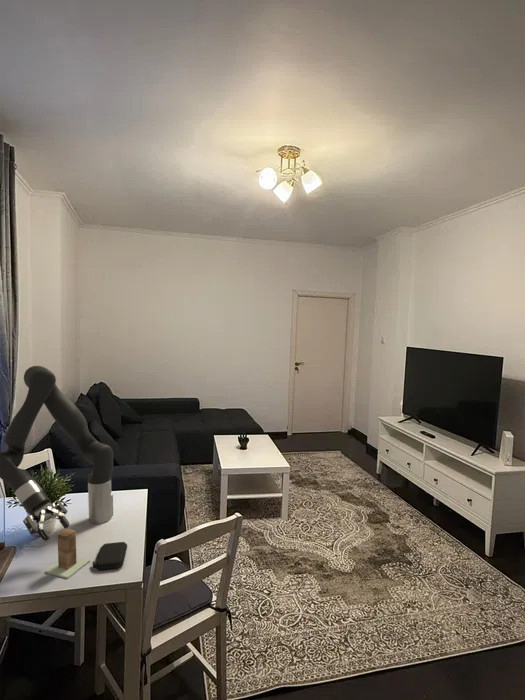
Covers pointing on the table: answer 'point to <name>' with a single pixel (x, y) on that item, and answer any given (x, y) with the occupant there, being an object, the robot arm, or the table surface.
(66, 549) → the walnut handle block
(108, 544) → the carrying case or bag
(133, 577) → the table surface
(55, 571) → the sage mat
